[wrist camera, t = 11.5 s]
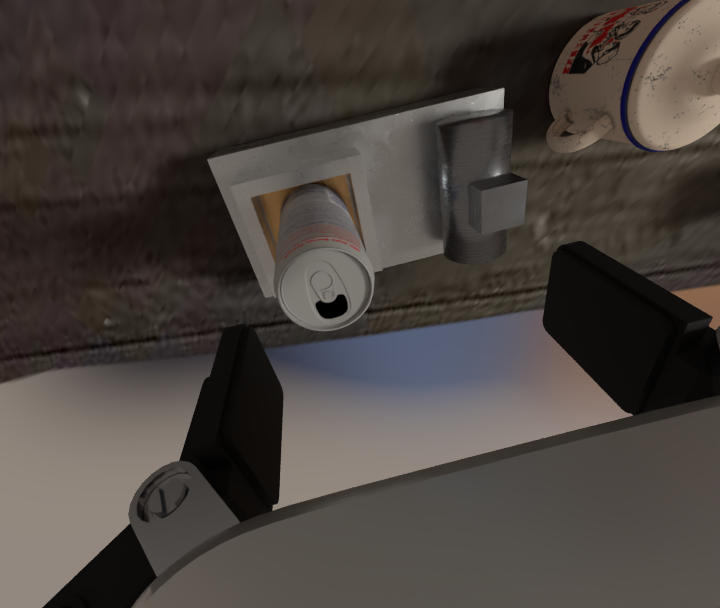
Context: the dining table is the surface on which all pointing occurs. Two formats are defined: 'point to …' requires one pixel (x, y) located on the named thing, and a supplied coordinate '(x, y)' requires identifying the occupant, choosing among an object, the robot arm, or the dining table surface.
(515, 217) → the white desk organizer
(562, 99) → the teacup with lid
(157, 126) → the dining table surface
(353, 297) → the energy drink
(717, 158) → the dining table surface
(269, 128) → the dining table surface
